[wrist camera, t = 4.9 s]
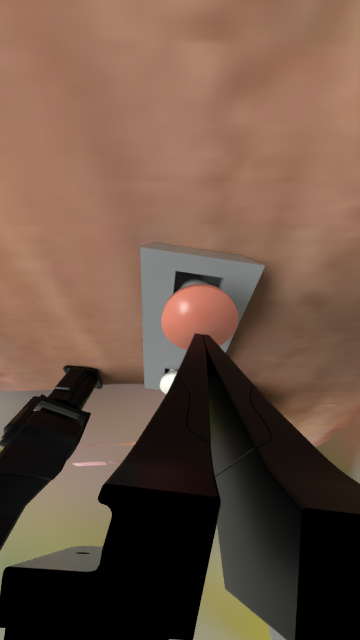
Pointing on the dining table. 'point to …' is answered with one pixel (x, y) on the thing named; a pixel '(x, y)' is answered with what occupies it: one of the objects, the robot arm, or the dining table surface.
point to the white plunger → (167, 380)
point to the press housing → (167, 277)
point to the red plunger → (199, 314)
